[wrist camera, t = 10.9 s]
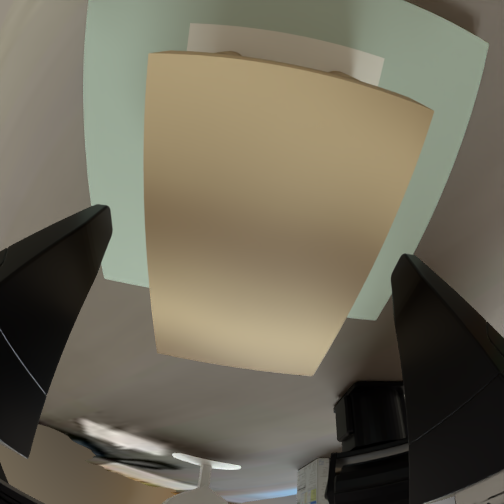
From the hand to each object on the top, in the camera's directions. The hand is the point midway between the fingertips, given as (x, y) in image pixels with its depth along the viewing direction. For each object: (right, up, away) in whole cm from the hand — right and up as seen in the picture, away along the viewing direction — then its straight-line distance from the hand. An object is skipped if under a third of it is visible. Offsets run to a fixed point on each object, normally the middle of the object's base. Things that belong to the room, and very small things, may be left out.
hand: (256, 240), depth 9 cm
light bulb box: (+13, -39, +38) cm, 56 cm away
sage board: (+1, +4, +6) cm, 7 cm away
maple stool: (0, +3, +5) cm, 6 cm away
